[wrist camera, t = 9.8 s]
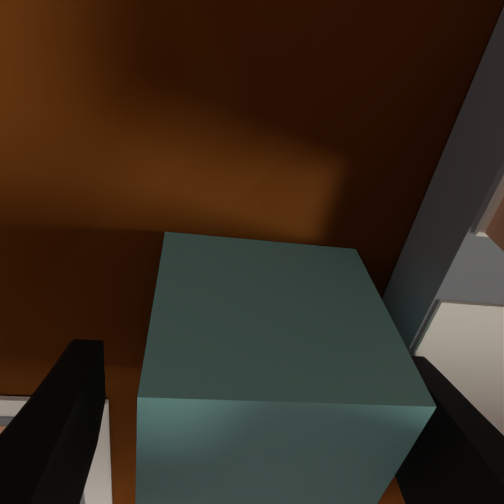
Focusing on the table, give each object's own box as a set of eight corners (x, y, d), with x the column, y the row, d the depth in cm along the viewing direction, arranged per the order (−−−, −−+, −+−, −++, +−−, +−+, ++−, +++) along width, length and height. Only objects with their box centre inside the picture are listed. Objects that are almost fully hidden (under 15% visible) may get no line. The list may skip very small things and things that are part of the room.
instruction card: (112, 520, 18) (111, 526, 18) (-42, 521, 17) (-45, 528, 17) (108, 399, 14) (106, 405, 14) (-98, 392, 13) (-102, 399, 13)
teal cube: (311, 373, 14) (353, 541, 10) (157, 366, 13) (134, 546, 9) (355, 247, 11) (437, 407, 7) (165, 229, 11) (137, 397, 7)
